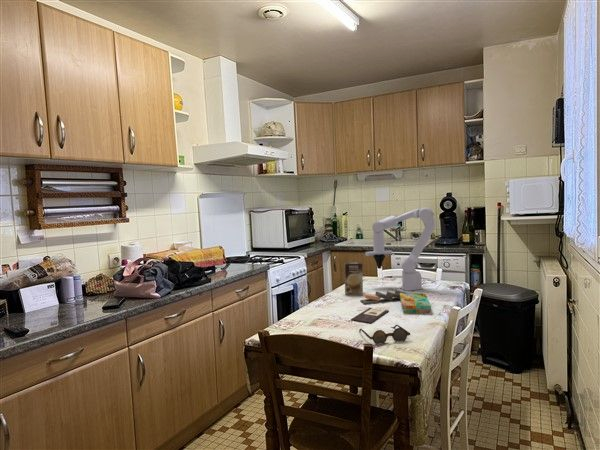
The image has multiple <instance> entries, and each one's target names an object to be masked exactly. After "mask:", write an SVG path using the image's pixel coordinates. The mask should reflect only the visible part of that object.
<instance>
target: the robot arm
mask: <svg viewBox="0 0 600 450" xmlns="http://www.w3.org/2000/svg"><path fill="white" fill-rule="evenodd" d="M411 218H414V219H420V220H421V222H422V223H423V226H424V229H423V230H422V232H421V234H420V236H419V238H418V239H417V241H416V242H415V243H416V244H415V245H414V246H413V248H412V251H411V252H410V253H409V256H408V257H407V258H406V259H405V260H404V261H403V262H402V264H401V269H402V271H401V276H402V277H401V279H402V280H401V282H402V286H398V288H400V289H402V290H404V291H407V292H408V291H415V290H423V286H422V283H423V281H422V273H421V272H420V271H417V270H416V269H415V268H416V265H417V261H418V259H419V257H420V255H421V254H422V252H423V250H424V248H425V247H426V245H427V243H428V241H429V240H430V238H431V236H432V234H433V232H434V231H435V229H436V222H435V213H434V212H433V209H431V207H428V206H426V207H425V206H424V207H422V208H421V207H420V208H416V209H412V210H409V211H407V212H405V213H403V214H399V215H398V216H396V215H390V214H389V215H388V216H387V217H386V218H380V219H379V220H376V221H375V222H373V223H372V225H371V227H372V233H373V235H372V237H373V238H372V239H373V243H372V244H373V245H372V246H373V251H372V250H370V251H365V256H366V257H370V256H372V257H373V259H374V261H375V263H376V266H377V269H382V265H383V262H384V260H385V258H386V255H393V250H385V235H384V233H385V232H384V230H388V229H391V228H394V227H396V226H398V224H399V222H403V221H406V220H409V219H411Z"/></svg>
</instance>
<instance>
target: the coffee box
mask: <svg viewBox="0 0 600 450" xmlns="http://www.w3.org/2000/svg"><path fill="white" fill-rule="evenodd" d="M363 279H364V278H363V262H362V261H344V293H345V295H348V296H350V295H353V296H356V295H357V296H358V295H362V296H364V289H363V288H364V286H363V285H364V284H363V283H364V280H363Z"/></svg>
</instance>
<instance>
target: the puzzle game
mask: <svg viewBox="0 0 600 450" xmlns="http://www.w3.org/2000/svg"><path fill="white" fill-rule="evenodd" d="M399 300H400V303H401V309H402V311H403V313H405V314H407V313H408V314H409V313H410V314H428V313H429V312H430V311H431V310H432V306H431V302H430V300H429V298H428V296H427V294H426V293H421V292H420V293H418V292H417V293H416V292H414V293H412V292H406V293H400V299H399Z"/></svg>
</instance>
